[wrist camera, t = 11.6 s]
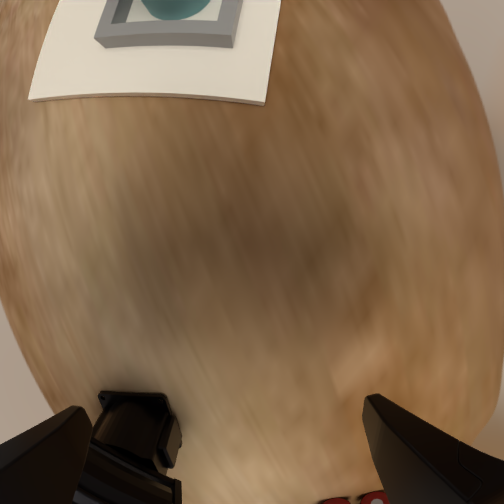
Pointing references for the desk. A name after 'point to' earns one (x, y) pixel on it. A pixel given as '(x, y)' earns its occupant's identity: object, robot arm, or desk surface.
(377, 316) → the desk surface
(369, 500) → the toy fire truck
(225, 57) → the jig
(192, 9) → the teal cylinder white cap
